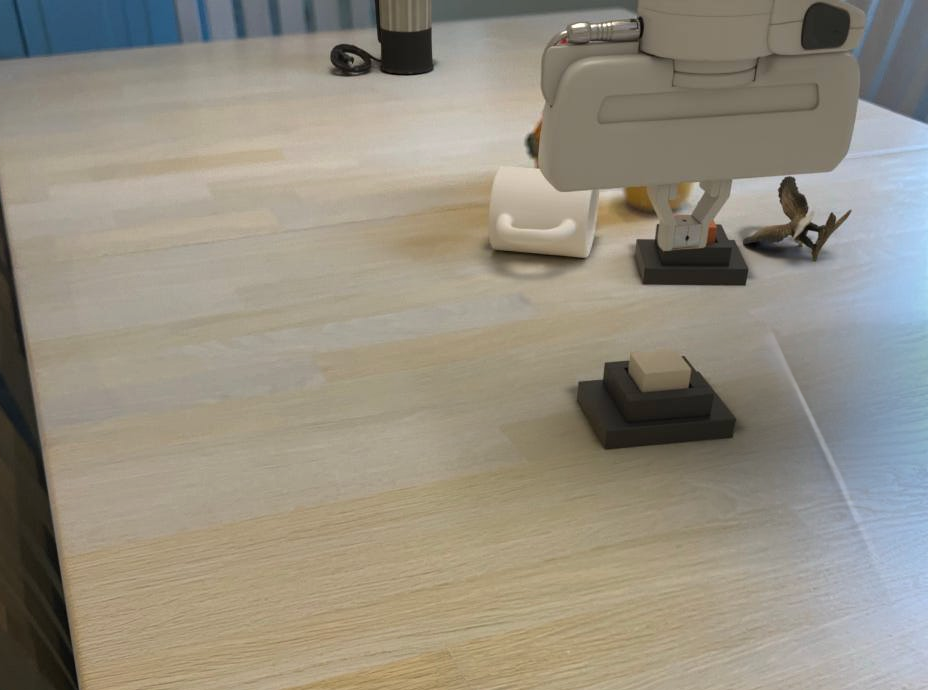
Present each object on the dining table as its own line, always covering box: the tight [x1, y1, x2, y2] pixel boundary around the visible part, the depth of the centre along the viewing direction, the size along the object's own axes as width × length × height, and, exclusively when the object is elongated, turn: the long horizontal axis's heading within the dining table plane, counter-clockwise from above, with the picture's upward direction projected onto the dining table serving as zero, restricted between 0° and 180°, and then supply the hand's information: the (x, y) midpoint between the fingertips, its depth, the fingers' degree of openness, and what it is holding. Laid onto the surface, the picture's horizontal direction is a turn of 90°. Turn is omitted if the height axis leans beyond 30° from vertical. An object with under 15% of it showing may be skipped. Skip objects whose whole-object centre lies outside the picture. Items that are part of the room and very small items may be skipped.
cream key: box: [628, 348, 691, 392], centre depth 76 cm, size 4×4×2 cm
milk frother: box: [329, 0, 435, 75], centre depth 166 cm, size 14×16×15 cm
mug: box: [487, 165, 600, 259], centre depth 102 cm, size 12×10×8 cm
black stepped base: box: [576, 355, 737, 451], centre depth 78 cm, size 10×8×4 cm
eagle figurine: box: [742, 175, 853, 262], centre depth 104 cm, size 8×7×9 cm
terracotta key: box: [674, 214, 717, 243], centre depth 99 cm, size 4×4×2 cm
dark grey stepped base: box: [634, 223, 750, 287], centre depth 101 cm, size 10×8×4 cm
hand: (681, 247), depth 70 cm, fingers closed
